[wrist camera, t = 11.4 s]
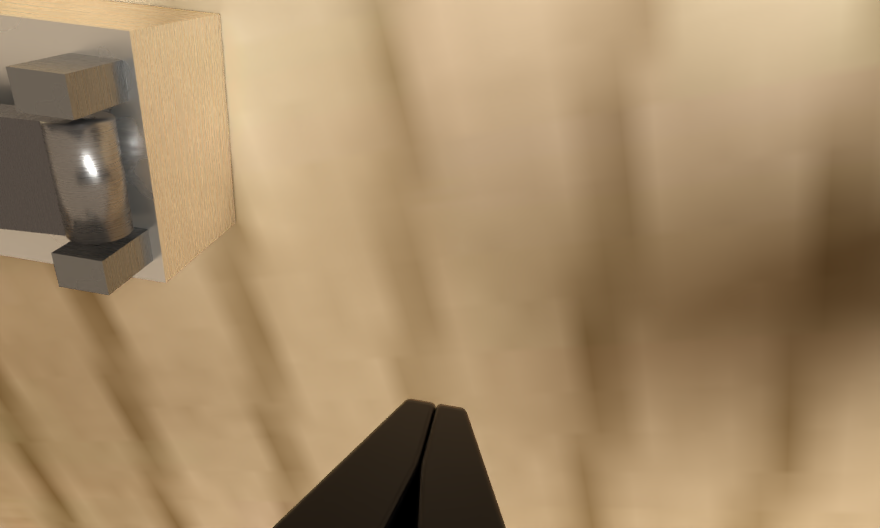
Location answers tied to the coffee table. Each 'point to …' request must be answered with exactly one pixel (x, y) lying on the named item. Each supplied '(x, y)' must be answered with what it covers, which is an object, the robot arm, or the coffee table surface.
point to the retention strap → (63, 176)
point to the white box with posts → (128, 126)
